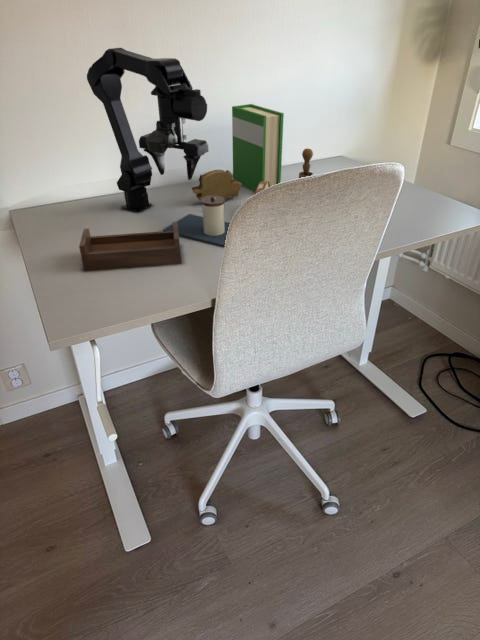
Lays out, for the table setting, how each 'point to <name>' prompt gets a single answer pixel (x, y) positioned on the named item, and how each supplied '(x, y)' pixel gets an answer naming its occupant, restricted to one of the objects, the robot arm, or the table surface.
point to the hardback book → (256, 145)
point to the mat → (198, 230)
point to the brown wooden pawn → (306, 163)
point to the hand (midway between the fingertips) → (175, 177)
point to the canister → (213, 215)
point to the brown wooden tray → (130, 249)
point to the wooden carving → (217, 185)
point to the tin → (262, 186)
